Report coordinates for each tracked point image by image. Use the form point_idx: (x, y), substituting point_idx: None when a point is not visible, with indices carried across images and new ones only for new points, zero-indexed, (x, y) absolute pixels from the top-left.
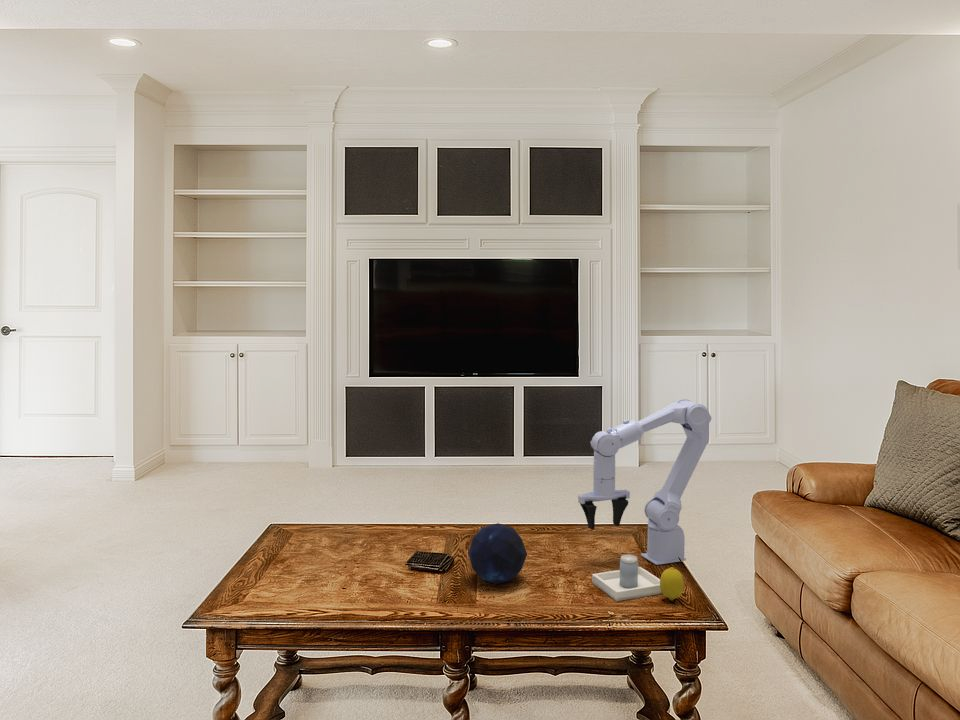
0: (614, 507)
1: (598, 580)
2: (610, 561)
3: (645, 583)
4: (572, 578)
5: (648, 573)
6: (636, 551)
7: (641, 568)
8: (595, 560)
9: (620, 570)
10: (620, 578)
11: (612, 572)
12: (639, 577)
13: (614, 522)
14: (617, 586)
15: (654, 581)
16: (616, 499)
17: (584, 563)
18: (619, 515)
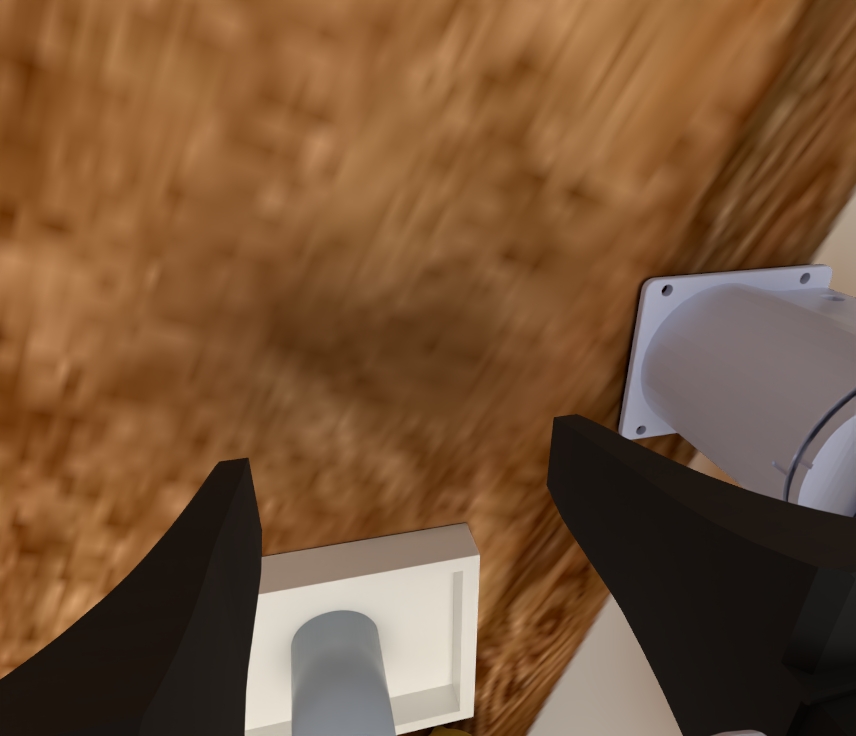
0: (685, 560)
1: None
2: (418, 312)
3: (420, 633)
4: (56, 508)
5: (465, 628)
6: (673, 193)
7: (471, 574)
8: (327, 267)
9: (291, 723)
10: (291, 682)
11: (290, 602)
12: (432, 578)
13: (564, 450)
14: (273, 652)
15: (456, 653)
16: (801, 727)
17: (223, 298)
18: (619, 598)
